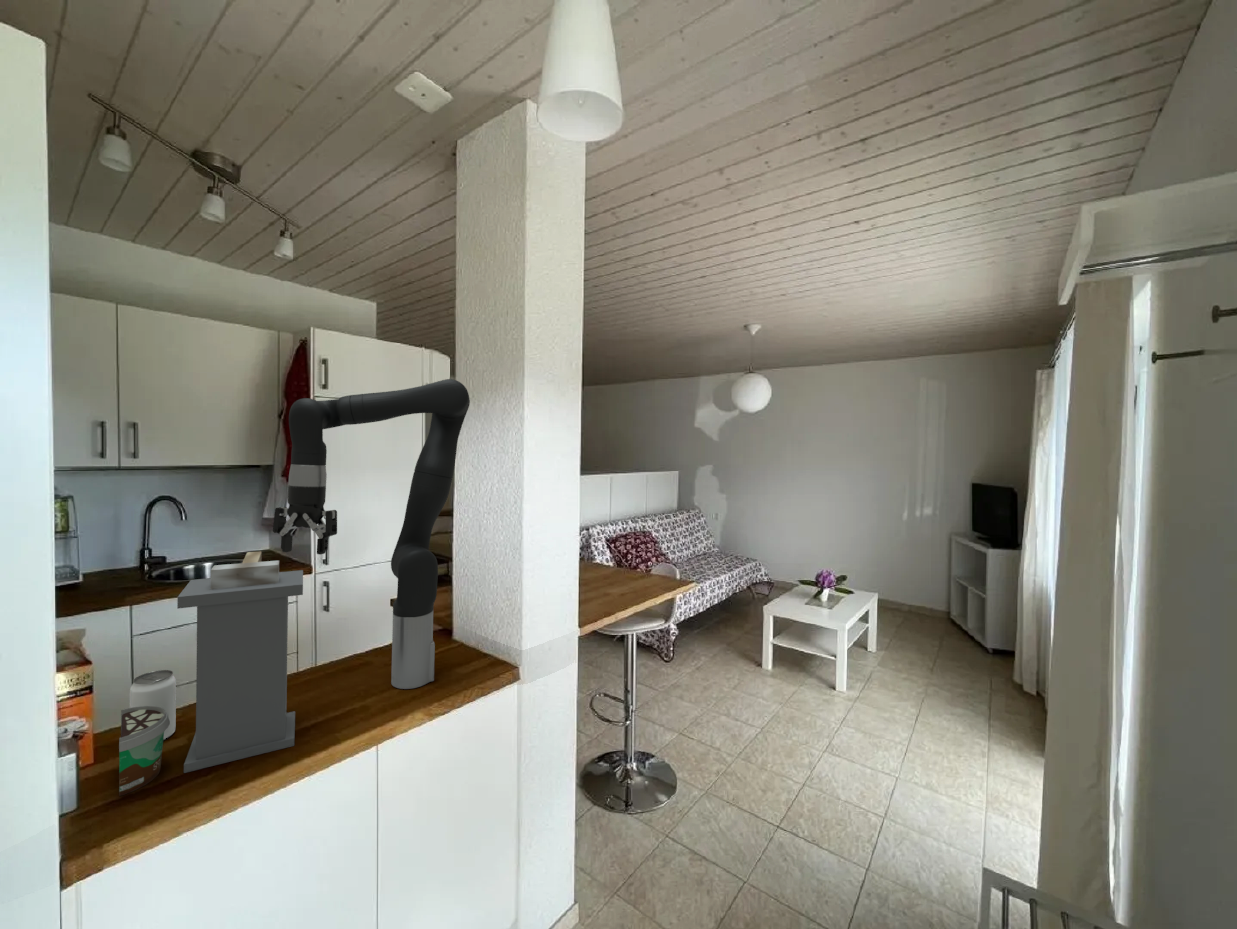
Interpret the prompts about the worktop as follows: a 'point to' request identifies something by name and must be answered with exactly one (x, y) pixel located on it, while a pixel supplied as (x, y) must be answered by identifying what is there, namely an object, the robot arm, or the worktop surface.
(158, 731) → the food container
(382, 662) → the worktop surface
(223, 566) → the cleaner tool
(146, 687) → the can
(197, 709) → the stand
